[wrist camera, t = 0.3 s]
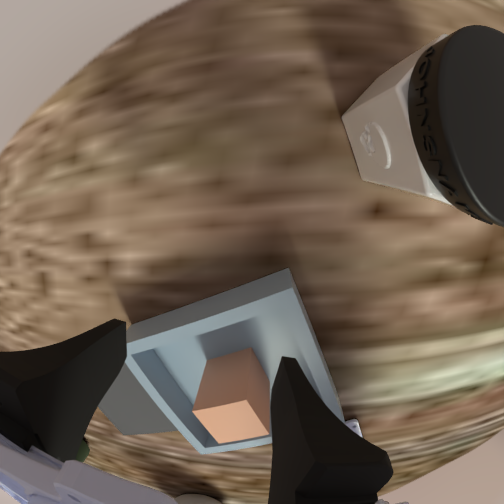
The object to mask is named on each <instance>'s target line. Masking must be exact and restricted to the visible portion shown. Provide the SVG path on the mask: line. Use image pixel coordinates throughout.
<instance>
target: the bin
mask: <svg viewBox="0 0 504 504" xmlns="http://www.w3.org/2000/svg"><path fill="white" fill-rule="evenodd" d="M126 341H127V358H126V360H125V363H126V365H127V366H128V367H129V369H130V370H131V372H132V373H133V374H134V376H135V377H136V378H137V380H138V381H139V382H140V384H141V385H142V386H143V388H144V389H145V390H146V392H147V393H148V394H149V395H150V397H151V398H152V399H153V401H154V402H155V403H156V404H157V406H158V407H159V408H160V409H161V410H162V412H163V413H164V414H165V415H166V416H167V418H168V419H169V420H170V421H171V422H172V423H173V425H174V426H175V427H176V428H177V429H178V430H179V431H180V432H181V434H182V435H183V436H184V437H185V438H186V439H187V440H188V441H189V442H190V443H191V444H192V446H193V447H194V448H195V449H196V450H197V451H198V452H199V453H200V454H209V453H217V452H224V451H231V450H237V449H243V448H249V447H255V446H260V445H265V444H270V443H272V429H271V411H270V426H269V434H268V435H264V436H259V437H254V438H249V439H244V440H238V441H232V442H226V443H220V444H219V443H218V442H217V441H216V440H215V438H214V437H213V436H212V435H211V434H210V433H209V431H208V430H207V429H206V428H205V427H204V425H203V424H202V423H201V422H200V421H199V419H198V418H197V417H196V416H195V414H194V413H193V412H192V410H193V406H194V403H195V399H196V396H197V392H198V389H199V385H200V382H201V379H202V375H203V372H204V368H205V365H206V361H207V360H209V359H213V358H217V357H220V356H224V355H227V354H230V353H234V352H237V351H240V350H244V349H247V348H250V347H252V349H253V351H254V353H255V355H256V357H257V359H258V361H259V362H260V364H261V366H262V368H263V370H264V372H265V374H266V375H267V377H268V379H269V381H270V405H271V392H272V386H273V383H274V380H275V377H276V374H277V371H278V367H279V364H280V361H281V358H282V356H285V357H291V358H296V360H297V361H298V363H299V365H300V367H301V369H302V370H303V372H304V374H305V376H306V377H307V379H308V381H309V382H310V384H311V385H312V387H313V388H314V390H315V391H316V393H317V394H318V395H319V397H320V398H321V399H322V401H323V402H324V403H325V404H326V406H327V407H328V408H329V409H330V410H331V411H332V412H333V413H334V414H335V415H336V416H337V417H338V418H339V419H340V420H341V421H342V422H343V423H345V420H344V416H343V412H342V408H341V404H340V400H339V396H338V393H337V391H336V388H335V385H334V383H333V380H332V377H331V375H330V372H329V369H328V367H327V364H326V361H325V359H324V356H323V353H322V351H321V348H320V345H319V343H318V340H317V338H316V335H315V332H314V330H313V327H312V325H311V322H310V320H309V317H308V315H307V312H306V309H305V307H304V304H303V302H302V299H301V297H300V294H299V292H298V289H297V287H296V284H295V282H294V279H293V277H292V274H291V272H290V269H289V268H286V269H284V270H281V271H278V272H276V273H273V274H271V275H268V276H265V277H263V278H260V279H257V280H255V281H252V282H249V283H247V284H244V285H241V286H239V287H236V288H233V289H230V290H228V291H225V292H222V293H220V294H217V295H214V296H211V297H209V298H206V299H203V300H200V301H197V302H195V303H192V304H189V305H186V306H183V307H181V308H178V309H175V310H172V311H169V312H166V313H164V314H161V315H158V316H155V317H152V318H149V319H146V320H143V321H140V322H138V323H135V324H132V325H131V326H130V327H129V328H128V330H127V331H126Z"/></svg>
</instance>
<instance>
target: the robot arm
mask: <svg viewBox="0 0 504 504" xmlns="http://www.w3.org/2000/svg"><path fill="white" fill-rule="evenodd" d="M126 358H127V341H126V322H124V321H121V320H117V319H112V320H110V321H108V322H106V323H104V324H101V325H99V326H97V327H95V328H93V329H91V330H89V331H87V332H85V333H82V334H80V335H78V336H75V337H73V338H70V339H68V340H65V341H63V342H60V343H57V344H53V345H50V346H46V347H42V348H36V349H31V350H25V351H14V352H0V488H1V489H2V490H4V491H5V492H6V493H8V494H9V495H10V496H11V497H13V498H14V499H15V500H17V501H18V502H19V503H21V504H178V503H177V502H176V500H175V499H173V498H172V497H170V496H168V495H167V494H165V493H163V492H160V491H157V490H155V489H152V488H150V487H147V486H143V485H140V484H137V483H134V482H131V481H128V480H125V479H123V478H120V477H117V476H115V475H112V474H109V473H107V472H104V471H102V470H99V469H97V468H95V467H92V466H90V465H88V464H85V463H82V462H79V461H77V460H75V459H76V456H77V453H78V450H79V447H80V445H81V442H82V439H83V437H84V434H85V432H86V429H87V427H88V425H89V423H90V420H91V418H92V416H93V414H94V412H95V410H96V408H97V407H98V405H99V403H100V402H101V400H102V399H103V397H104V396H105V394H106V393H107V391H108V390H109V388H110V387H111V385H112V384H113V382H114V380H115V379H116V377H117V376H118V374H119V373H120V371H121V369H122V367H123V365H124V362H125V360H126ZM270 411H271V429H272V446H273V455H272V470H271V481H270V491H269V500H268V504H389V502H387V501H384V500H383V499H380V500H378V497H377V492H378V491H379V490H380V489H381V488H382V487H383V486H384V485H385V484H386V483H387V482H388V481H389V480H390V479H391V477H392V475H393V469H392V466H391V462H390V459H389V457H388V454H387V452H386V451H384V450H382V449H381V448H379V447H377V446H375V445H373V444H371V443H370V442H368V441H367V440H365V439H364V438H363V437H362V433H361V430H360V427H359V424H358V421H357V419H352V420H349V421H346V422H345V423H343V422H342V421H341V420H340V419H339V418H338V417H337V416H336V415H335V414H334V413H333V412H332V411H331V410H330V409H329V408H328V407H327V406H326V404H325V403H324V402H323V401H322V399H321V398H320V397H319V395H318V394H317V393H316V391H315V390H314V388H313V387H312V385H311V384H310V382H309V381H308V379H307V377H306V376H305V374H304V372H303V370H302V369H301V367H300V365H299V363H298V361H297V360H296V358H291V357H285V356H282V358H281V361H280V364H279V367H278V371H277V374H276V377H275V380H274V383H273V386H272V392H271V405H270ZM397 504H409V503H408V502H403V503H397Z"/></svg>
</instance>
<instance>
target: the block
mask: <svg viewBox="0 0 504 504" xmlns="http://www.w3.org/2000/svg"><path fill="white" fill-rule="evenodd" d="M192 412H193V413H194V414H195V416H196V417H197V418H198V419H199V421H200V422H201V423H202V424H203V425H204V427H205V428H206V429H207V430H208V431H209V433H210V434H211V435H212V436H213V437H214V438H215V440H216V441H217V442H218V443H219V444H220V443H226V442H232V441H238V440H244V439H249V438H254V437H259V436H264V435H268V434H269V426H270V381H269V379H268V377H267V375H266V374H265V372H264V370H263V368H262V366H261V364H260V362H259V361H258V359H257V357H256V355H255V353H254V351H253V349H252V347H250V348H247V349H244V350H240V351H237V352H234V353H230V354H227V355H224V356H220V357H217V358H213V359H209V360H207V361H206V365H205V368H204V372H203V375H202V379H201V382H200V385H199V389H198V392H197V396H196V399H195V403H194V406H193V410H192Z"/></svg>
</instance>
